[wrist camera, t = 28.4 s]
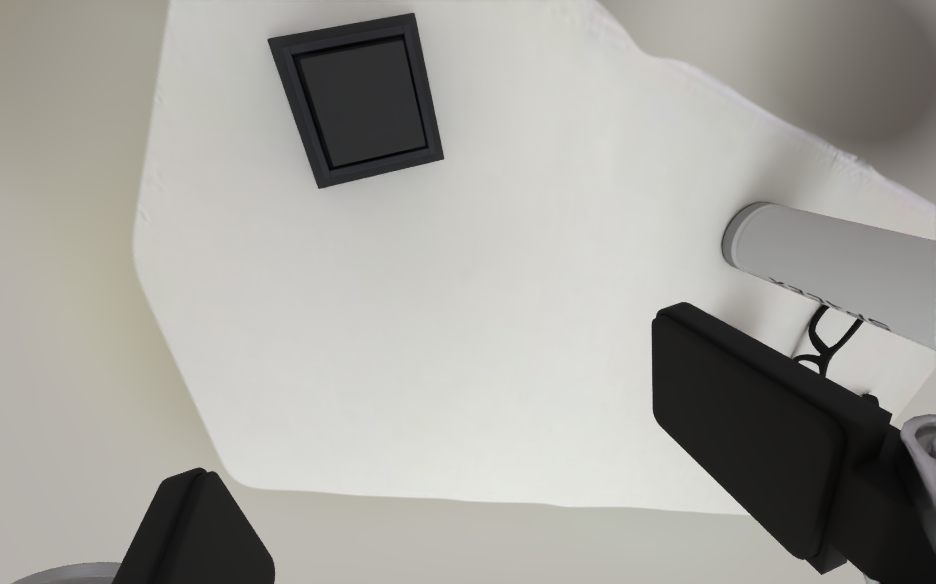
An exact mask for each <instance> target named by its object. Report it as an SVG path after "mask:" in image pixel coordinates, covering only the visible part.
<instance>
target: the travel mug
mask: <svg viewBox="0 0 936 584" xmlns="http://www.w3.org/2000/svg"><path fill="white" fill-rule="evenodd" d="M723 254H724V257H725V259H726V261H727V262H728V263H729V264H730V265H731V266H733V267H735V268H737V269H740V270H742V271H745V272H748V273H749V274H752V275H754V276H757V277H759V278H761V279H764V280H766V281H769V282H771V283H774V284H776V285H778V286H781V287H783V288H786V289H788V290H790V291H793V292H795V293H798V294H800V295H802V296H805V297H807V298H810V299H812V300H815V301H817V302H819V303H822V304H824V305H827V306H829V307H831V308H834V309H836V310H839V311H841V312H843V313H846V314H848V315H851V316H853V317H856V318H858V319H860V320H863V321H865V322H868V323H870V324H872V325H875V326H877V327H880V328H882V329H884V330H887V331H889V332H892V333H894V334H897V335H899V336H901V337H904V338H906V339H909V340H911V341H913V342H916V343H918V344H921V345H923V346H925V347H928V348H930V349H933V350H935V351H936V241H934V240H930V239H925V238H921V237H916V236H912V235H908V234H903V233H899V232H895V231H890V230H886V229H881V228H877V227H873V226H868V225H864V224H860V223H855V222H851V221H846V220H842V219H838V218H833V217H829V216H825V215H820V214H816V213H811V212H807V211H803V210H798V209H794V208H790V207H785V206H780V205H776V204H772V203H768V202H759V203H755V204H753V205H750V206H748V207H747V208H745V209H743V210H742V211H741V212H740V213H739V214H738V215H737V216H736V217H735V218H734V219H733V220H732V222H731V223H730V225H729V227H728V229H727V231H726V233H725V236H724V240H723Z"/></svg>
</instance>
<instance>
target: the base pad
mask: <svg viewBox="0 0 936 584" xmlns="http://www.w3.org/2000/svg"><path fill="white" fill-rule="evenodd" d="M395 41H403V44H404V49H405V53H406V58H407V62H408V67H409V71H410V76H411V80H412V85H413V90H414V94H415V99H416V103H417V108H418V112H419V117H420V121H421V126H422V130H423V135H424V140H425V146H421V147H416V148H412V149H408V150H403V151H399V152H395V153H390V154H386V155H382V156H377V157H373V158H368V159H364V160H360V161H355V162H351V163H347V164H342V165H338V166H334V165H333V163H332V159H331V156H330V153H329V150H328V147H327V144H326V141H325V138H324V134H323V131H322V128H321V125H320V122H319V119H318V116H317V112H316V109H315V106H314V103H313V100H312V97H311V94H310V91H309V87H308V84H307V81H306V78H305V75H304V72H303V69H302V65H301V62H300V60H301V59H305V58H310V57H316V56H321V55H326V54H332V53H337V52H342V51H347V50H353V49H358V48H363V47H369V46H374V45H379V44H385V43H390V42H395ZM268 43H269V46H270V49H271V52H272V55H273V58H274V61H275V63H276V66H277V69H278V72H279V75H280V78H281V81H282V84H283V87H284V90H285V93H286V96H287V98H288V101H289V104H290V107H291V110H292V113H293V116H294V119H295V122H296V125H297V128H298V130H299V133H300V136H301V139H302V142H303V145H304V148H305V151H306V154H307V157H308V160H309V163H310V165H311V168H312V171H313V174H314V177H315V180H316V183H317V186H318V188H319V189H320V188H325V187H329V186H333V185H337V184H341V183H346V182H350V181H354V180H358V179H363V178H367V177H371V176H375V175H380V174H384V173H388V172H392V171H396V170H401V169H405V168H409V167H413V166H418V165H422V164H426V163H430V162H435V161H439V160H443V159H444V155H443V150H442V146H441V141H440V136H439V131H438V126H437V121H436V116H435V111H434V106H433V102H432V97H431V92H430V87H429V82H428V77H427V72H426V67H425V62H424V58H423V53H422V48H421V43H420V38H419V33H418V28H417V23H416V18H415V14H414V13H410V14H404V15H398V16H393V17H387V18H382V19H376V20H370V21H365V22H359V23H354V24H348V25H342V26H337V27H331V28H326V29H320V30H314V31H309V32H303V33H298V34H292V35H286V36H281V37H275V38H270V39H268Z"/></svg>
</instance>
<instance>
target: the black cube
mask: <svg viewBox="0 0 936 584" xmlns="http://www.w3.org/2000/svg"><path fill="white" fill-rule="evenodd" d="M300 62H301V65H302V69H303V72H304V75H305V78H306V81H307V84H308V87H309V91H310V94H311V97H312V100H313V103H314V106H315V109H316V112H317V116H318V119H319V122H320V125H321V128H322V131H323V134H324V138H325V141H326V144H327V147H328V150H329V153H330V156H331V159H332V163H333V165H334V166H338V165H342V164H347V163H351V162H355V161H360V160H364V159H368V158H373V157H377V156H382V155H386V154H390V153H395V152H399V151H403V150H408V149H412V148H416V147H421V146H425V140H424V135H423V130H422V126H421V121H420V117H419V112H418V108H417V103H416V99H415V94H414V90H413V85H412V80H411V76H410V71H409V67H408V62H407V58H406V53H405V49H404V44H403V41H395V42H390V43H385V44H379V45H374V46H369V47H363V48H358V49H353V50H347V51H342V52H337V53H332V54H326V55H321V56H316V57H310V58H305V59H301V60H300Z"/></svg>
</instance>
